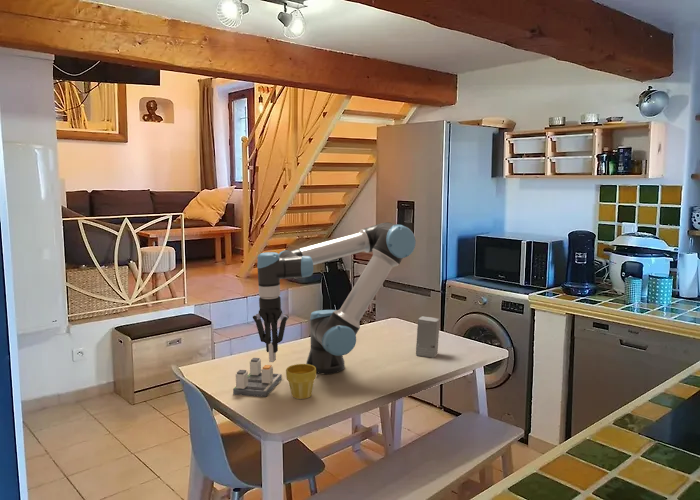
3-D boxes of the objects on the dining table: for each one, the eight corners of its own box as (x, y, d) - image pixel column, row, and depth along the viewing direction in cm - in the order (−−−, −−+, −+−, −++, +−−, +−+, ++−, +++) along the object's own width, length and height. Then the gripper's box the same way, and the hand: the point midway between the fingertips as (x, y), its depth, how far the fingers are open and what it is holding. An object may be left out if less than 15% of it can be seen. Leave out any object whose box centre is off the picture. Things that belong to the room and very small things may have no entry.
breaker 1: (248, 385, 197) (247, 369, 196) (244, 388, 194) (243, 373, 193) (240, 384, 198) (239, 369, 197) (236, 388, 194) (235, 372, 194)
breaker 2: (261, 372, 210) (260, 357, 209) (257, 375, 206) (257, 360, 206) (253, 371, 210) (253, 357, 210) (250, 374, 207) (249, 360, 206)
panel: (281, 379, 209) (281, 373, 208) (265, 397, 192) (265, 391, 192) (251, 376, 211) (251, 371, 211) (233, 394, 195) (233, 388, 194)
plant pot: (286, 390, 198) (286, 363, 197) (316, 389, 199) (315, 362, 198) (286, 402, 188) (285, 374, 187) (316, 401, 189) (316, 373, 188)
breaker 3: (273, 379, 202) (272, 364, 201) (269, 383, 199) (269, 368, 198) (265, 379, 203) (264, 364, 202) (261, 382, 199) (261, 367, 198)
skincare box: (415, 355, 235) (416, 319, 233) (420, 350, 242) (420, 315, 239) (435, 358, 232) (436, 321, 230) (439, 353, 238) (440, 317, 236)
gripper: (290, 294, 198) (293, 358, 202) (256, 293, 201) (259, 356, 205) (283, 299, 191) (286, 365, 194) (248, 298, 194) (251, 363, 197)
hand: (272, 360), depth 199 cm, fingers closed
